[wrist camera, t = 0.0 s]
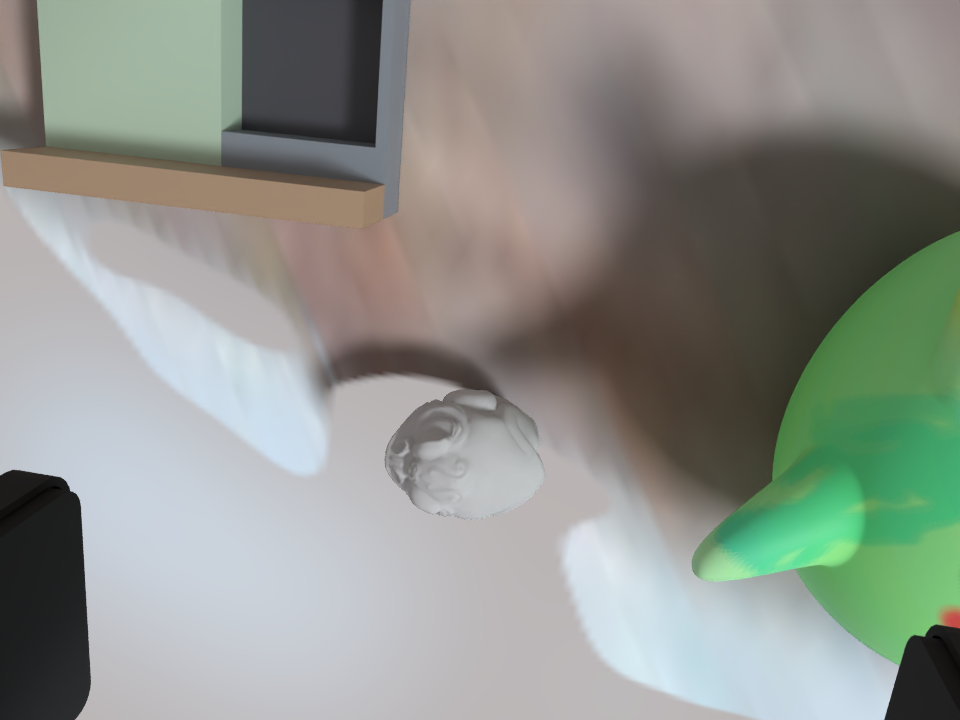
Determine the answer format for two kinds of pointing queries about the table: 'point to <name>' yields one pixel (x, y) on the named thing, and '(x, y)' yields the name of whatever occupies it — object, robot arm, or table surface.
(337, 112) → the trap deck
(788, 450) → the green rounded piece
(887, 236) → the table surface
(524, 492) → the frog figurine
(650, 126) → the table surface
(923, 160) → the table surface
